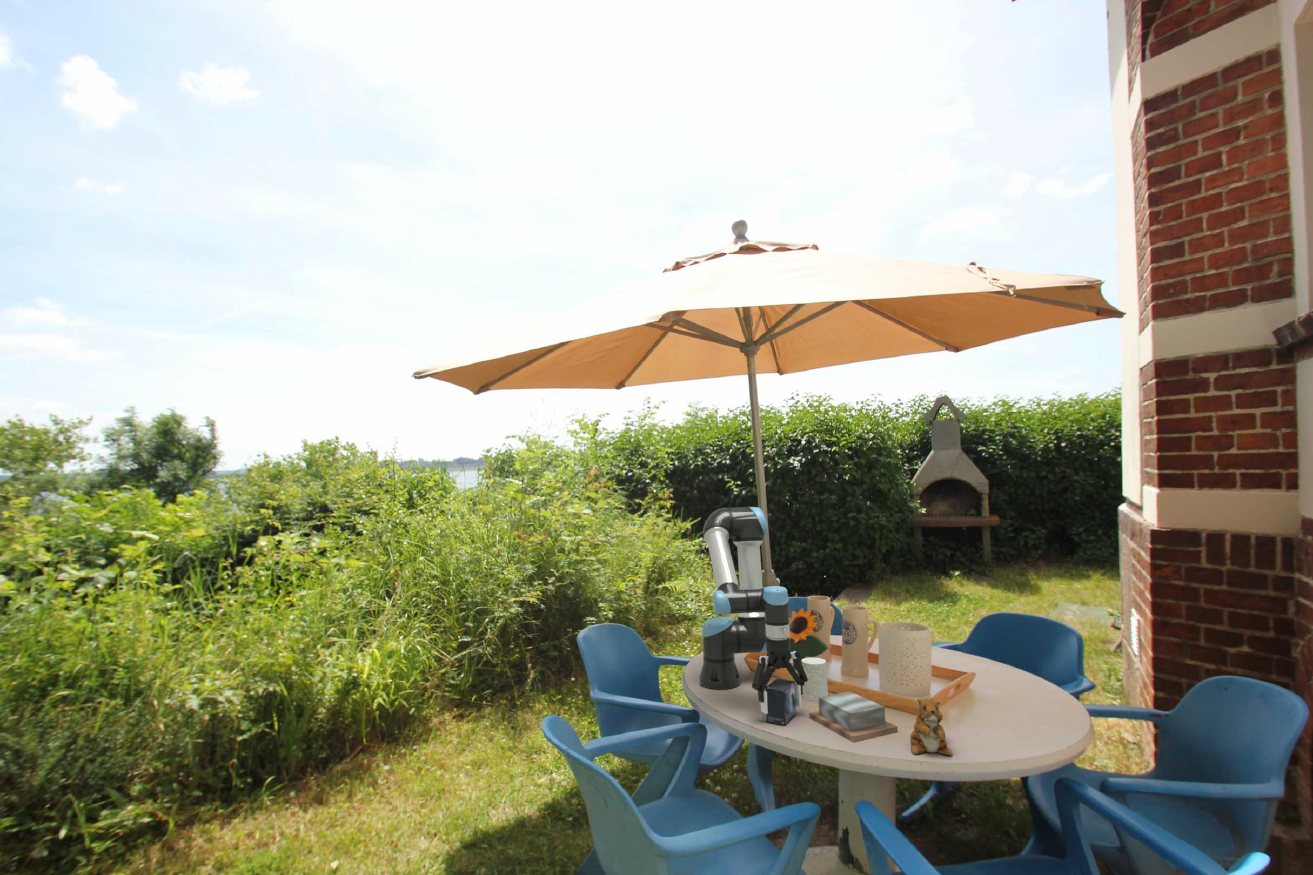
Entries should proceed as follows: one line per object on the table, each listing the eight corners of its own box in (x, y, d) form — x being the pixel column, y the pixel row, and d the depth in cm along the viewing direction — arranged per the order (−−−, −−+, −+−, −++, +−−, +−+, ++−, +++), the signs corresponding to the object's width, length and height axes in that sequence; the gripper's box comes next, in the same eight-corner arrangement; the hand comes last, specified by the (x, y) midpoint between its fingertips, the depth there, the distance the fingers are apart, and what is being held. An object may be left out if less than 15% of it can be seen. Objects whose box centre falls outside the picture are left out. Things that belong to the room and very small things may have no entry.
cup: (800, 699, 195) (798, 662, 196) (806, 691, 202) (804, 656, 204) (825, 702, 191) (823, 665, 193) (830, 694, 198) (828, 658, 200)
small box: (786, 726, 173) (784, 690, 174) (765, 722, 176) (763, 687, 177) (797, 714, 182) (795, 680, 183) (777, 711, 185) (776, 677, 186)
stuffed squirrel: (912, 755, 151) (908, 703, 153) (906, 734, 165) (902, 686, 166) (954, 759, 148) (950, 706, 150) (944, 737, 162) (941, 688, 163)
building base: (809, 717, 179) (808, 695, 180) (850, 708, 185) (849, 687, 186) (853, 741, 161) (851, 717, 161) (897, 731, 167) (896, 708, 167)
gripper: (751, 644, 173) (754, 719, 171) (816, 635, 182) (820, 706, 180) (738, 639, 180) (741, 711, 178) (802, 630, 189) (806, 699, 187)
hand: (781, 709), depth 179 cm, fingers closed on small box, 12 cm apart
